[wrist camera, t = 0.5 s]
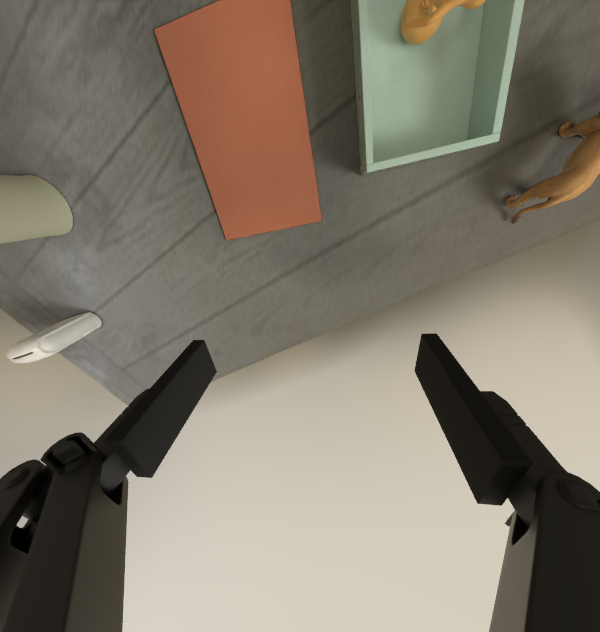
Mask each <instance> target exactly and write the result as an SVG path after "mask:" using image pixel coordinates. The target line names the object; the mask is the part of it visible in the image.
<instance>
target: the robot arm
mask: <svg viewBox="0 0 600 632" xmlns="http://www.w3.org/2000/svg"><path fill="white" fill-rule="evenodd" d="M216 372H217V371H216V369H215V366H214V364H213V361H212V358H211V356H210V353H209V351H208V348H207V346H206V343H205V341H204V340H193V341H192V342H191V343H190V345H189V346H188V347H187V348H186V349H185V350H184V351H183V352H182V353H181V355H180V356H179V357H178V358H177V359H176V360H175V361H174V362H173V364H172V365H171V366H170V367H169V368H168V369H167V370H166V371H165V372H164V374H163V375H162V376H161V377H160V378H159V379H158V380H157V381H156V383H155V384H154V385H153V386H152V387H151V388H150V389H147V390H145V391H144V392H142V393H141V394H140V395H138V396H137V397H136V398H135V399H134V400H133V401H132V402H131V403H130V405H129V407H127V408H126V409H125V410H124V411H123V412H122V414H121V415H119V416H118V418H117V419H116V420H115V421H114V422H113V423H112V424H111V425H110V426H109V427H108V428H107V429H106V431H105V432H104V433H103V434H102V435H101V436H100V437H99V438H98V439H97V440H96V441H95V442H94V443H93V442H92V441H91V440H90V439H89V438H88V437H87V436H86V435H85V434H83V433H74V434H71V435H68V436H66V437H64V438H63V439H61V440H59V441H58V442H56V443H55V444H54V445H52V446H51V447H50V448H49V449H48V450H47V451H46V452H45V453H44V455H43V457H42V458H41V461H42V462H44V463H45V464H46V465H47V466H45V465H44V464H42V463H41V462H40V461H38V460H30V461H27V462H25V463H22V464H20V465H18V466H17V467H15V468H13V469H12V470H10V471H9V472H8V473H7V474H5V475H4V476H3V477H2V478H1V479H0V632H122V622H123V597H124V573H125V549H126V547H125V546H126V523H127V522H126V521H127V500H128V479H127V477H126V475H127V473H128V472H129V471H130V470H131V471H132V472H133V473H134V474H135V475H136V476H137V477H149V478H151V477H153V475H154V473H155V472H156V470H157V468H158V467H159V465H160V463H161V462H162V460H163V459H164V457H165V455H166V454H167V452H168V450H169V449H170V447H171V446H172V444H173V442H174V441H175V439H176V437H177V436H178V434H179V433H180V431H181V429H182V427H183V426H184V424H185V423H186V421H187V419H188V418H189V416H190V415H191V413H192V411H193V410H194V408H195V406H196V405H197V403H198V401H199V400H200V398H201V396H202V395H203V393H204V392H205V390H206V388H207V387H208V385H209V384H210V382H211V380H212V379H213V377H214V375H215V374H216ZM415 373H416V375H417V377H418V379H419V381H420V383H421V385H422V388H423V390H424V391H425V394H426V396H427V398H428V400H429V402H430V404H431V406H432V409H433V411H434V413H435V415H436V417H437V419H438V421H439V423H440V425H441V428H442V430H443V432H444V434H445V436H446V438H447V440H448V442H449V444H450V446H451V448H452V451H453V452H454V455H455V457H456V459H457V461H458V463H459V465H460V468H461V470H462V472H463V474H464V476H465V478H466V480H467V482H468V484H469V486H470V489H471V491H472V493H473V495H474V497H475V499H476V501H477V503H478V504H491V505H502V504H503V503H504V502H505V500H506V499H507V498H509V500H510V502H511V504H512V505H513V507H514V509H515V511H514V512H513V513H512V515H511V516H510V517H509V518H508V520H507V521H506V523H505V524H506V525H507V526H510V530H509V536H508V540H507V545H506V550H505V555H504V560H503V565H502V570H501V576H500V580H499V585H498V590H497V595H496V601H495V605H494V610H493V615H492V621H491V625H490V631H489V632H600V492H599V491H598V490H597V489H595V488H594V487H593V486H592V485H591V484H589V483H588V482H586V481H584V480H583V479H581V478H580V477H578V476H575V475H573V474H571V473H568V472H567V471H566V470H565V469H564V468H563V467H562V466H561V465H560V464H559V463H558V461H557V460H556V459H555V458H554V457H553V456H552V454H551V453H550V452H549V451H548V450H547V449H546V447H545V446H544V445H543V444H542V443H541V441H540V440H539V439H538V438H537V436H536V435H535V434H534V433H533V432H532V431H531V429H530V428H529V427H528V426H526V424H525V422H524V421H523V420H522V419H521V417H520V416H518V415H517V413H516V412H515V410H514V409H513V408H512V407H511V406H510V404H509V403H508V402H507V401H506V400H504V399H503V398H501V397H500V396H499V395H497V394H496V393H495V392H492V391H488V392H487V391H479V390H478V388H477V387H476V385H475V384H474V383H473V381H472V380H471V379H470V377H469V376H468V375H467V373H466V372H465V371H464V370H463V368H462V367H461V365H460V364H459V363H458V362H457V360H456V359H455V357H454V356H453V355H452V353H451V352H450V351H449V349H448V348H447V347H446V346H445V344H444V343H443V341H442V340H441V339H440V337H439V336H438V335H437V334H422V335H421V340H420V345H419V351H418V356H417V361H416V366H415ZM21 516H24V517H26V518H27V519H29V520H28V521H27V523H26V524H25V526H24V527H23V528H19V527H18V526H16V525H17V523H18V521H19V520H20V518H21Z"/></svg>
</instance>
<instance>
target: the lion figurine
mask: <svg viewBox="0 0 600 632" xmlns="http://www.w3.org/2000/svg"><path fill="white" fill-rule="evenodd" d="M559 135H560V136H562V137H564V138H567V137H570V136H573V135H580V136H582V137H583V138H585V139H584V140H583V141H582V142H581V143H580V144H579V145H578V147H577V148H576V149H575V150H574V151H573V152H572V154H571V155H570V156H569V158H568V159H567V161H566V163H565V165H564V167H563V172H562V173H560V174H559V175H557V176H555V177H552V178H548V179H546V180H544V181H542V182H540V183H538V184H536V185H535V186H533V187H532V188H530V189H529V190H528V191H527V192H525V193H524V194H523V195H521V196H520V197H519V198H517V197H516V196H510V197H508V198H507V199H506V201H505V205H506V206H508V207H515V206H520V205H521V204H523V203H524V202H526V201H528V200H530V199H532V198H535V197H539V198H540V199H543V198H546V197H549V199H548V200H547V202H544V203H540V204H537V205H534V206H531V207H528V208H525V209H523V210H521V211H519V212H518V213H517V214H516V215H515V216H514V217H513V218H512V221H511V223H512V224H515V223H516V222H517V221H518V219H519V218H520V217H521V215H522V214H523V213H525V212H528V211H532V210H537V209H541V208H545V207H548V206H551V205H554V204H557V203H559V202H565V201H568V200H571V199H573V198H574V197H576V196H578V195H579V194H581V193H582V192H583V191H585V190H586V189H587V188H589V187H590V186H591V184H592V183H593V182H594V180H595V179H596V177H597V176H598V174H599V173H600V112H599V114H598V115H597V116H594V117H592V118H589V119H587V120H585V121H583V122H581V123H579V124H578V125H576V126H574V124H573V122H572V121H570V122H566V123H565V124H563V125H562V126H561V127H560V129H559Z"/></svg>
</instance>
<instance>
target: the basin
mask: <svg viewBox="0 0 600 632" xmlns="http://www.w3.org/2000/svg"><path fill="white" fill-rule="evenodd" d="M405 3H406V0H351V15H352V32H353V49H354V66H355V82H356V99H357V116H358V133H359V150H360V166H361V175H366V174H370V173H374V172H378V171H383V170H387V169H391V168H395V167H399V166H404V165H408V164H412V163H416V162H421V161H425V160H429V159H433V158H437V157H442V156H446V155H450V154H454V153H459V152H463V151H467V150H471V149H474V148H478V147H481V146H485V145H488V144H491V143H495V142H498V141H499V138H500V132H501V128H502V122H503V117H504V111H505V106H506V100H507V95H508V89H509V83H510V78H511V72H512V67H513V61H514V56H515V50H516V45H517V39H518V34H519V28H520V22H521V17H522V11H523V6H524V0H486V1H485V2H484V3H483V4H482V5H480V6H479V7H477V8H475V9H465V8H463V7H462V6H456V7H454V8H452V9H451V10H450V11H449V12H447V13H446V14H445V15H444V17H443V20H442V22H441V24H440V26H439V27H438V29H437V30H436V32H435V33H434V34H433V35H432V36H431V37H430V38H429V39H428V40H427V41H425V42H424V43H422V44H419V45H411V44H409V43H408V42H407V41H406V40H405V39H404V37H403V35H402V32H401V33H399V32H400V31H401V29H400V27H401V17H402V12H403V8H404V5H405Z"/></svg>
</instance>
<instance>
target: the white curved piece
mask: <svg viewBox="0 0 600 632" xmlns="http://www.w3.org/2000/svg"><path fill="white" fill-rule="evenodd" d="M101 323H102V322H101V320H100V318H99V317H98V316H97V315H96V314H94V313H91V312H87V313H83V314H80V315H77V316H74V317H71V318H68V319H66V320H63V321H61V322H59V323H57V324H55V325H53V326H51V327H49V328H47V329H45V330H43V331H41V332H39V333H37V334H35V335H32V336H30V337H28V338H26V339H24V340H22V341H20V342H18V343H16V344H14V345H12V346H11V347H10V348H9V349H8V350H7V353H6V357H7V358H9V359H10V360H11V361H12V362H14V363H30V362H34V361H37V360H41V359H44V358H46V357H49V356H51V355H53V354H55V353H57V352H59V351H60V350H62V349H64V348H65V347H67V346H69V345H71V344H72V343H74V342H76V341H77V340H79V339H81V338H82V337H84V336H86V335H87V334H89V333H91V332H92V331H94V330H96V329H97V328H99V327H100V326H101V325H102V324H101Z"/></svg>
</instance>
